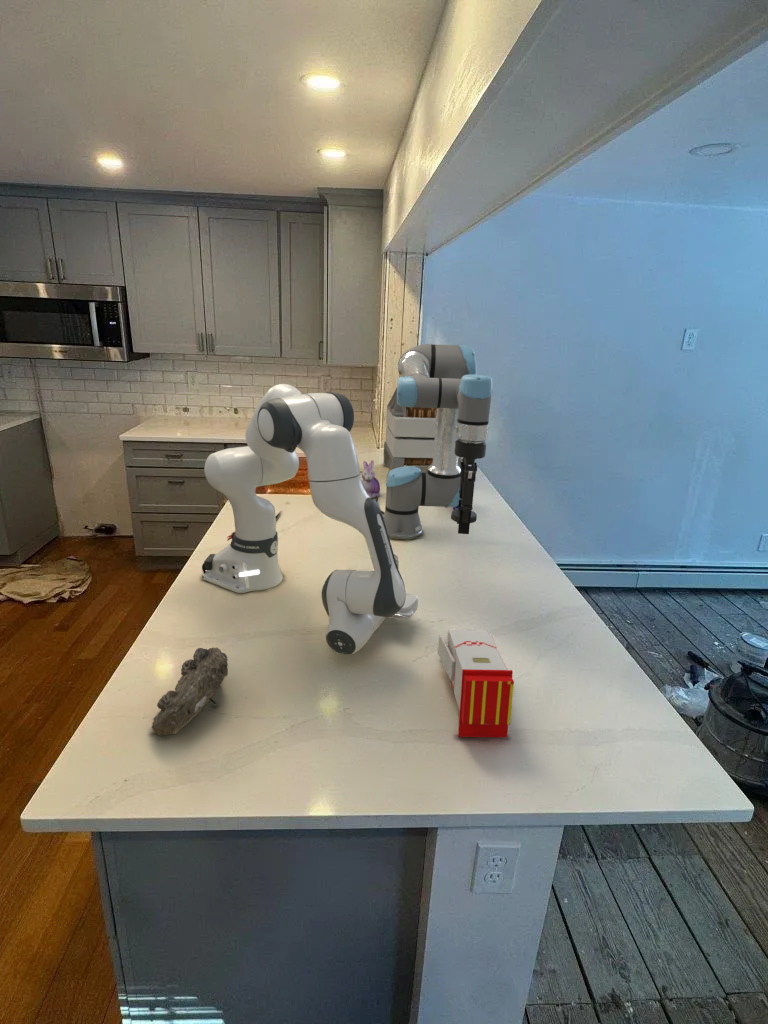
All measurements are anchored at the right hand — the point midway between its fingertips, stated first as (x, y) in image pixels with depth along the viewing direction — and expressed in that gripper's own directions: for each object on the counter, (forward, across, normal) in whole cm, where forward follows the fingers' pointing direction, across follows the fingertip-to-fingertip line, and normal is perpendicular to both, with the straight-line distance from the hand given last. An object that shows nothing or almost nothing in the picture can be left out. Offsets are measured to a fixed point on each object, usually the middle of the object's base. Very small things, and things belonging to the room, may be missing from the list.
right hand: (462, 528), depth 146 cm
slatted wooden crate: (+22, -129, -13) cm, 131 cm away
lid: (-4, 0, 0) cm, 4 cm away
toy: (+23, +37, +2) cm, 43 cm away
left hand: (+16, +4, -18) cm, 25 cm away
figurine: (+22, -89, -33) cm, 97 cm away
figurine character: (+22, -81, +3) cm, 84 cm away
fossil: (+23, +48, -52) cm, 74 cm away
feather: (+22, -59, -64) cm, 90 cm away
